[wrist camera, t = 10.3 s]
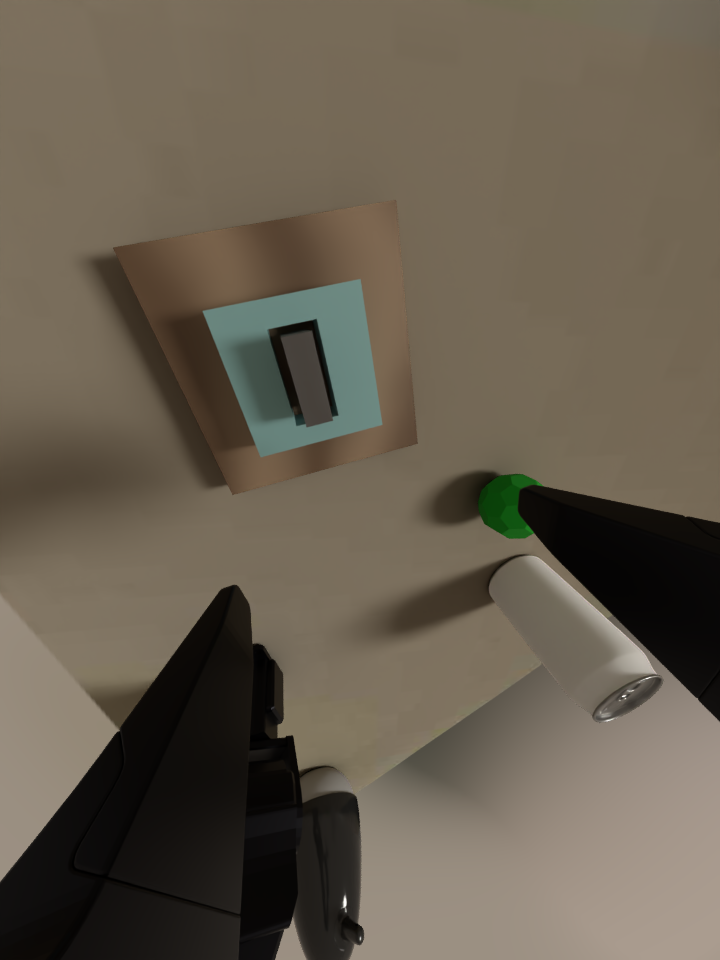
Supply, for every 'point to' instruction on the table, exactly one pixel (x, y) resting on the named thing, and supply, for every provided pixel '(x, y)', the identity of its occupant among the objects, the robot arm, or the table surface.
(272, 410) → the slotted plate
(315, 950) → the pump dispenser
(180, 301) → the post base
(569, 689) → the can
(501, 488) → the polyhedron
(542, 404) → the table surface
